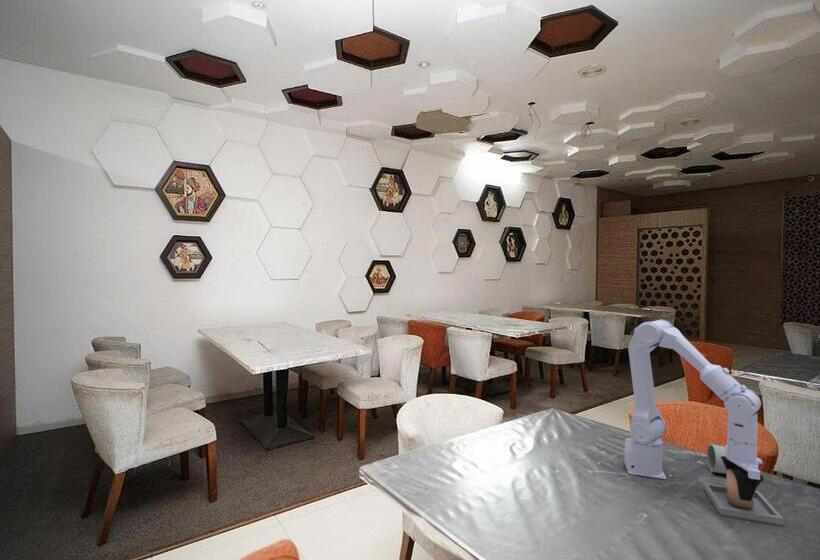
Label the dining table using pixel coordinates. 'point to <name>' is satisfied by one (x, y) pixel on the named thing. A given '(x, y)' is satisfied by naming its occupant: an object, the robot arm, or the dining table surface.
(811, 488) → the dining table surface
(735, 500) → the pink pillar candle
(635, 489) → the dining table surface
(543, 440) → the dining table surface
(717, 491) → the tray
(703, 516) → the dining table surface
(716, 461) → the ceramic mug
